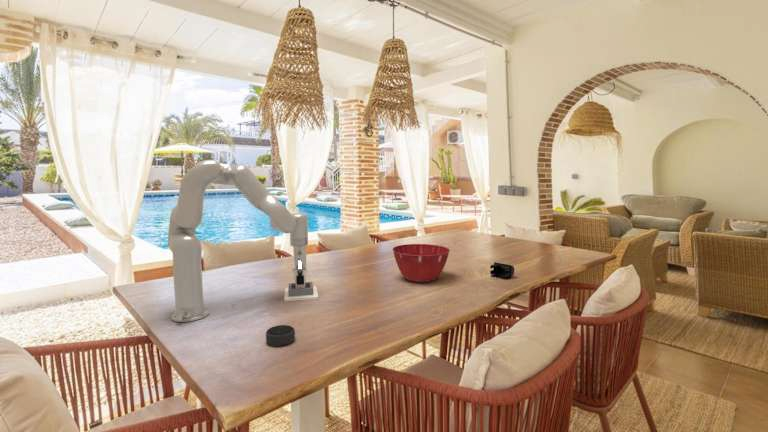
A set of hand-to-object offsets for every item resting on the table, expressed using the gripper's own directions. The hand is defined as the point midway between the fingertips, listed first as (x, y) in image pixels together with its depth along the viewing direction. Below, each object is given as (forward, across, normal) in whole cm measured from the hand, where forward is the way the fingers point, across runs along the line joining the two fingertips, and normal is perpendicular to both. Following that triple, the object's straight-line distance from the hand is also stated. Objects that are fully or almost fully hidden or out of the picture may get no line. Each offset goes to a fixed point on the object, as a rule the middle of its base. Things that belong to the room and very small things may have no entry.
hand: (300, 282), depth 177 cm
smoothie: (+4, 0, 0) cm, 4 cm away
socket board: (+6, 0, 0) cm, 6 cm away
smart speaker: (+6, -49, +7) cm, 50 cm away
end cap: (+5, +6, -100) cm, 101 cm away
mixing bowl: (+6, +12, -59) cm, 61 cm away
